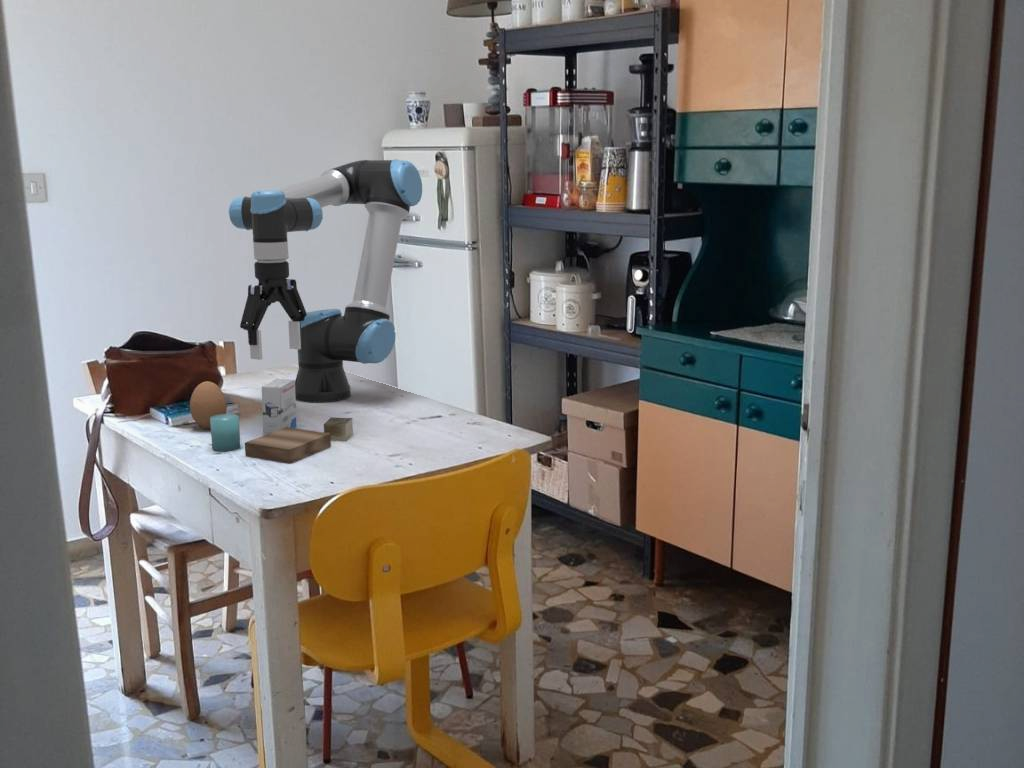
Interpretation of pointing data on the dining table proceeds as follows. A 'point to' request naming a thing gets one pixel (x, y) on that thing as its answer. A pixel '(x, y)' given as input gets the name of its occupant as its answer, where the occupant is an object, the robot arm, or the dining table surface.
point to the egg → (207, 403)
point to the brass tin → (339, 428)
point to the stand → (288, 445)
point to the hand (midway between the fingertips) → (276, 353)
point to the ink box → (278, 405)
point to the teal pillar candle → (225, 432)
